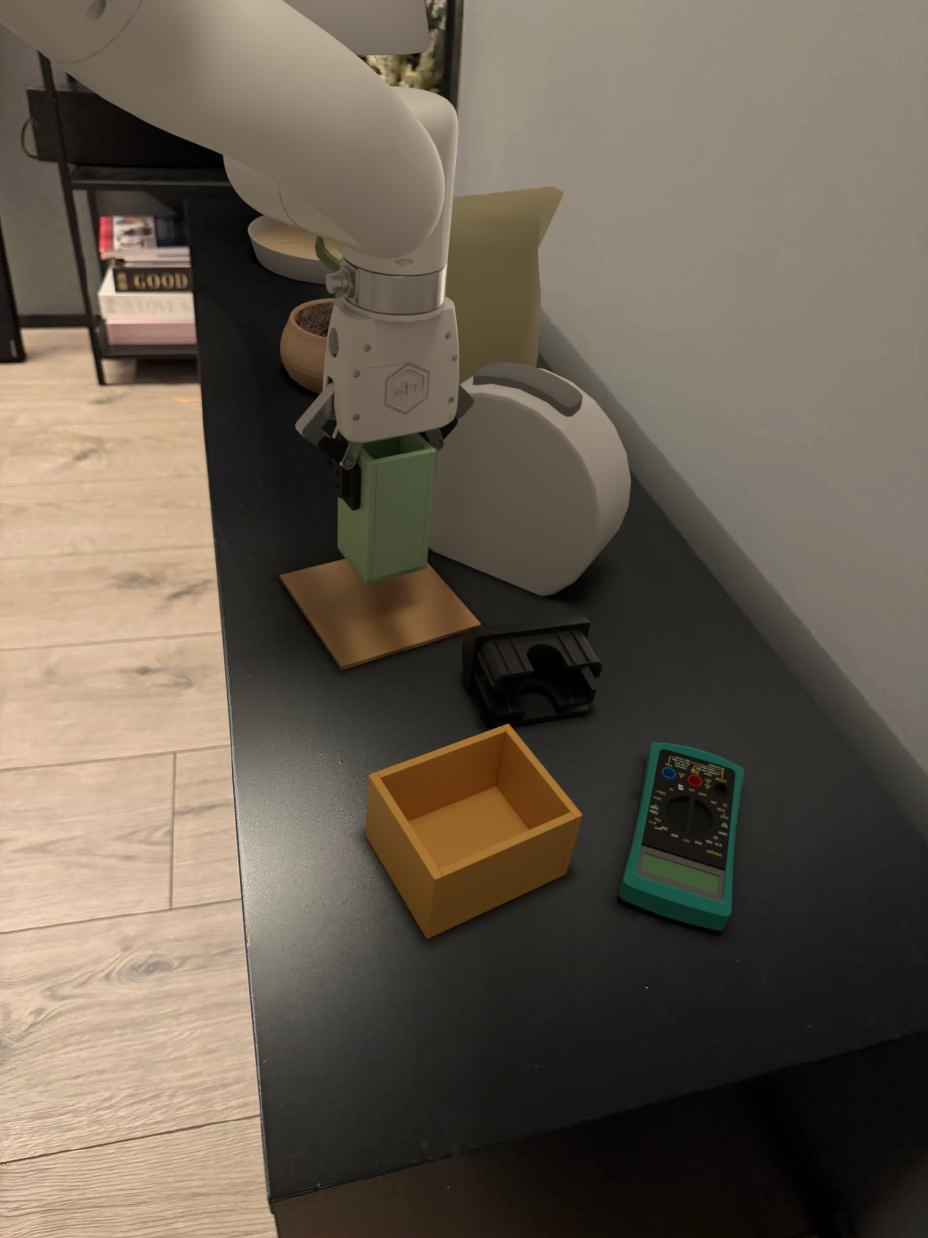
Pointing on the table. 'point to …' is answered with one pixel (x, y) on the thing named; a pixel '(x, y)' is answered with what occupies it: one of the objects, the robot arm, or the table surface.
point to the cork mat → (376, 611)
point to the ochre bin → (469, 827)
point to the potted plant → (310, 331)
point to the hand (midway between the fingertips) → (384, 492)
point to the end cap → (530, 670)
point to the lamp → (367, 25)
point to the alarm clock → (528, 480)
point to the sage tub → (390, 509)
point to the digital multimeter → (685, 836)
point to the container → (498, 275)
